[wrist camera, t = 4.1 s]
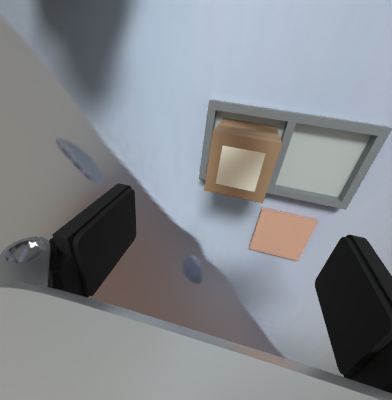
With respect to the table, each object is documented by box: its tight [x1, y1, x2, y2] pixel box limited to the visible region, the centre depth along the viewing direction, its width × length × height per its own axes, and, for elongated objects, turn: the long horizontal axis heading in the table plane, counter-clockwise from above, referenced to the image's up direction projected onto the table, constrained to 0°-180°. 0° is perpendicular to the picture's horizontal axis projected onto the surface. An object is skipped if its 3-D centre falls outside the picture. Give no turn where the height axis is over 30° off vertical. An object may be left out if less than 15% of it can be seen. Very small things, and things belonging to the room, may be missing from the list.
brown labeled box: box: [204, 118, 282, 203], centre depth 19 cm, size 5×5×6 cm
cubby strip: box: [199, 99, 392, 210], centre depth 21 cm, size 15×8×1 cm, turn 83°
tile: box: [249, 207, 318, 261], centre depth 26 cm, size 6×6×1 cm
